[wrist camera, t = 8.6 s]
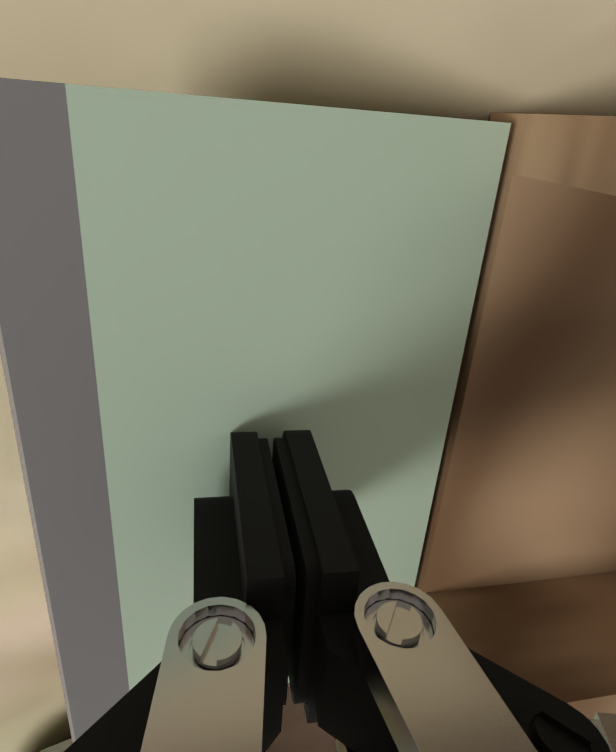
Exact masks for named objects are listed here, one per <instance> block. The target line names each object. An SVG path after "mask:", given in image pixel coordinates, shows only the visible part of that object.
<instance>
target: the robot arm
mask: <svg viewBox="0 0 616 752" xmlns="http://www.w3.org/2000/svg"><path fill="white" fill-rule="evenodd" d="M288 676H289V682H290V688H291V694H292V700H293V703H294V704H297V703H304V707H305V712H306V718H307V723H313V722H318V726H319V727H320V728H322V729H323V730H325V731H326V732H327V733H329V734H330V735H331V736H333V737H334V738H335V747H336V751H337V752H616V714H611V713H601V712H596V714H595V716H594V719H588V718H587V717H586V716H585V715H584V714H582V713H581V712H579V711H578V710H576V709H575V708H574V707H572V706H571V705H569V704H568V703H566V702H564V701H562V700H560V699H559V698H557V697H555V696H553V695H551V694H550V693H548V692H546V691H544V690H542V689H541V688H539V687H537V686H535V685H534V684H532V683H530V682H528V681H526V680H525V679H523V678H521V677H519V676H517V675H516V674H514V673H512V672H510V671H508V670H507V669H505V668H503V667H501V666H500V665H498V664H496V663H494V662H492V661H491V660H489V659H487V658H485V657H483V656H482V655H480V654H478V653H476V652H474V651H473V650H471V649H469V648H467V646H466V645H465V644H464V642H463V641H462V639H461V638H460V636H459V635H458V633H457V632H456V630H455V629H454V627H453V626H452V624H451V623H450V621H449V620H448V618H447V617H446V615H445V614H444V612H443V611H442V610H441V608H440V607H439V606H438V604H437V603H436V602H435V601H434V600H433V599H432V598H431V597H430V596H429V595H427V594H426V593H424V592H423V591H422V590H420V589H418V588H416V587H413V586H411V585H408V584H405V583H399V582H390V581H389V579H388V576H387V574H386V571H385V569H384V566H383V564H382V562H381V559H380V557H379V554H378V552H377V549H376V547H375V544H374V542H373V540H372V537H371V535H370V532H369V530H368V527H367V525H366V522H365V520H364V518H363V515H362V513H361V510H360V508H359V505H358V503H357V501H356V498H355V496H354V494H353V492H352V491H351V490H332V489H331V486H330V484H329V481H328V478H327V475H326V472H325V470H324V467H323V464H322V461H321V458H320V455H319V453H318V450H317V447H316V444H315V441H314V439H313V436H312V433H311V431H310V430H287V431H284V432H283V435H282V438H274V440H273V452H272V457H271V452H270V448H269V443H268V439H267V438H258V434H257V432H230V480H229V496H221V497H203V498H194V596H193V604H192V605H191V606H189V607H188V608H186V609H185V610H183V611H182V612H181V613H180V614H179V615H178V617H177V618H176V619H175V620H174V621H173V623H172V625H171V628H170V630H169V632H168V635H167V639H166V644H165V648H164V652H163V656H162V661H161V662H160V663H159V664H158V665H157V666H156V667H155V668H154V669H153V670H152V671H150V672H149V673H148V674H147V675H146V676H145V677H144V678H143V679H142V680H141V681H140V682H139V683H137V684H136V685H135V686H134V687H133V688H132V689H131V690H130V691H129V692H128V693H127V694H126V695H124V696H123V697H122V698H121V699H120V700H119V701H118V702H117V703H116V704H115V705H114V706H113V707H111V708H110V709H109V710H108V711H107V712H106V713H105V714H104V715H103V716H102V717H101V718H100V719H98V720H97V721H96V722H95V723H94V724H93V725H92V726H91V727H90V728H89V729H88V730H87V731H86V732H84V733H83V734H82V735H81V736H80V737H79V738H78V739H77V740H76V741H75V742H74V743H73V744H71V745H70V746H69V747H68V748H67V749H66V750H65V751H64V752H266V750H267V749H268V748H269V746H270V745H271V744H272V742H273V741H274V740H275V738H276V737H277V736H278V734H279V733H280V732H281V722H282V710H283V705H286V698H287V687H288Z"/></svg>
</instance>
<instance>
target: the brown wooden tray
mask: <svg viewBox="0 0 616 752" xmlns="http://www.w3.org/2000/svg"><path fill="white" fill-rule="evenodd" d="M490 121H493V122H504V123H511V127H510V131H509V136H508V141H507V146H506V151H505V155H504V160H503V165H502V170H501V174H500V179H499V184H498V189H497V194H496V198H495V203H494V208H493V213H492V218H491V222H490V227H489V232H488V237H487V241H486V246H485V251H484V256H483V261H482V265H481V270H480V275H479V280H478V285H477V289H476V294H475V299H474V304H473V308H472V313H471V318H470V323H469V328H468V332H467V337H466V342H465V347H464V352H463V356H462V361H461V366H460V371H459V375H458V380H457V385H456V390H455V395H454V399H453V404H452V409H451V414H450V419H449V423H448V428H447V433H446V438H445V442H444V447H443V452H442V457H441V462H440V466H439V471H438V476H437V481H436V485H435V490H434V495H433V500H432V505H431V509H430V514H429V519H428V524H427V529H426V533H425V538H424V543H423V548H422V552H421V557H420V562H419V567H418V572H417V576H416V581H415V586H414V587H416V588H418V589H420V590H422V591H423V592H424V593H426V594H427V595H429V596H430V597H431V598H432V599H433V600H434V601H435V602H436V603H437V604H438V606H439V607H440V608H441V610H442V611H443V612H444V614H445V615H446V617H447V618H448V620H449V621H450V623H451V624H452V626H453V627H454V629H455V630H456V632H457V633H458V635H459V636H460V638H461V639H462V641H463V642H464V644H465V645H466V646H467V648H469V649H471V650H473V651H474V652H476V653H478V654H480V655H482V656H483V657H485V658H487V659H489V660H491V661H492V662H494V663H496V664H498V665H500V666H501V667H503V668H505V669H507V670H508V671H510V672H512V673H514V674H516V675H517V676H519V677H521V678H523V679H525V680H526V681H528V682H530V683H532V684H534V685H535V686H537V687H539V688H541V689H542V690H544V691H546V692H548V693H550V694H551V695H553V696H555V697H557V698H559V699H560V700H562V701H564V702H566V703H568V704H569V705H571V706H572V707H574V708H575V709H576V710H578V711H579V712H581V713H582V714H584V715H585V716H586V717H587V718H588V719H594V716H595V714H596V712H601V713H611V714H616V116H594V115H557V114H520V113H491V115H490Z"/></svg>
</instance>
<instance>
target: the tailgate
mask: <svg viewBox="0 0 616 752" xmlns="http://www.w3.org/2000/svg"><path fill="white" fill-rule="evenodd" d="M510 127H511V123H504V122H493V121H482V120H471V119H459V118H448V117H437V116H425V115H414V114H403V113H391V112H380V111H369V110H358V109H346V108H335V107H324V106H312V105H301V104H290V103H278V102H267V101H256V100H245V99H233V98H222V97H211V96H199V95H188V94H177V93H165V92H154V91H143V90H132V89H120V88H109V87H98V86H86V85H75V84H64V83H52V82H41V81H30V80H19V79H7V78H0V354H1V359H2V365H3V370H4V375H5V381H6V386H7V392H8V397H9V402H10V408H11V413H12V418H13V424H14V429H15V435H16V440H17V445H18V451H19V456H20V462H21V467H22V472H23V478H24V483H25V489H26V494H27V499H28V505H29V510H30V516H31V521H32V526H33V532H34V537H35V543H36V548H37V553H38V559H39V564H40V570H41V575H42V580H43V586H44V591H45V597H46V602H47V607H48V613H49V618H50V623H51V629H52V634H53V640H54V645H55V650H56V656H57V661H58V667H59V672H60V677H61V683H62V688H63V694H64V699H65V704H66V710H67V715H68V721H69V726H70V731H71V737H72V742H73V743H74V742H75V741H76V740H77V739H78V738H79V737H80V736H81V735H82V734H83V733H84V732H86V731H87V730H88V729H89V728H90V727H91V726H92V725H93V724H94V723H95V722H96V721H97V720H98V719H100V718H101V717H102V716H103V715H104V714H105V713H106V712H107V711H108V710H109V709H110V708H111V707H113V706H114V705H115V704H116V703H117V702H118V701H119V700H120V699H121V698H122V697H123V696H124V695H126V694H127V693H128V692H129V691H130V690H131V689H132V688H133V687H134V686H135V685H136V684H137V683H139V682H140V681H141V680H142V679H143V678H144V677H145V676H146V675H147V674H148V673H149V672H150V671H152V670H153V669H154V668H155V667H156V666H157V665H158V664H159V663H160V662H161V661H162V656H163V652H164V648H165V644H166V639H167V635H168V632H169V630H170V628H171V625H172V623H173V621H174V620H175V619H176V618H177V617H178V615H179V614H180V613H181V612H182V611H183V610H185V609H186V608H188V607H189V606H191V605H192V604H193V596H194V498H203V497H221V496H229V480H230V432H257V434H258V438H267V439H268V443H269V448H270V452H271V457H272V452H273V440H274V438H282V435H283V432H284V431H287V430H310V431H311V433H312V436H313V439H314V441H315V444H316V447H317V450H318V453H319V455H320V458H321V461H322V464H323V467H324V470H325V472H326V475H327V478H328V481H329V484H330V486H331V489H332V490H351V491H352V492H353V494H354V496H355V498H356V501H357V503H358V505H359V508H360V510H361V513H362V515H363V518H364V520H365V522H366V525H367V527H368V530H369V532H370V535H371V537H372V540H373V542H374V544H375V547H376V549H377V552H378V554H379V557H380V559H381V562H382V564H383V566H384V569H385V571H386V574H387V576H388V579H389V581H390V582H399V583H405V584H408V585H411V586H413V587H414V586H415V581H416V576H417V572H418V567H419V562H420V557H421V552H422V548H423V543H424V538H425V533H426V529H427V524H428V519H429V514H430V509H431V505H432V500H433V495H434V490H435V485H436V481H437V476H438V471H439V466H440V462H441V457H442V452H443V447H444V442H445V438H446V433H447V428H448V423H449V419H450V414H451V409H452V404H453V399H454V395H455V390H456V385H457V380H458V375H459V371H460V366H461V361H462V356H463V352H464V347H465V342H466V337H467V332H468V328H469V323H470V318H471V313H472V308H473V304H474V299H475V294H476V289H477V285H478V280H479V275H480V270H481V265H482V261H483V256H484V251H485V246H486V241H487V237H488V232H489V227H490V222H491V218H492V213H493V208H494V203H495V198H496V194H497V189H498V184H499V179H500V174H501V170H502V165H503V160H504V155H505V151H506V146H507V141H508V136H509V131H510ZM288 683H289V676H288Z"/></svg>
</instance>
